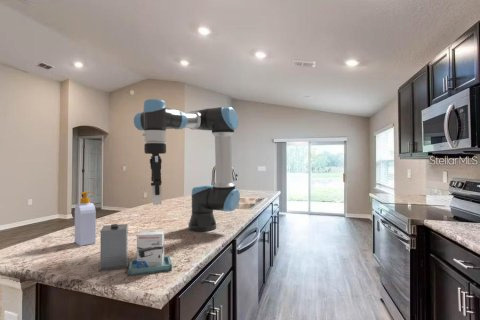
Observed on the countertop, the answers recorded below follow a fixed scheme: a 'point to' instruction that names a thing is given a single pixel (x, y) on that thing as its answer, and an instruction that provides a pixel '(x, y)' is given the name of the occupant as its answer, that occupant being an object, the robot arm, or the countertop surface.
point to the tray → (137, 271)
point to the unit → (114, 247)
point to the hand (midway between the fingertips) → (156, 201)
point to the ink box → (150, 248)
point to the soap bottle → (85, 221)
